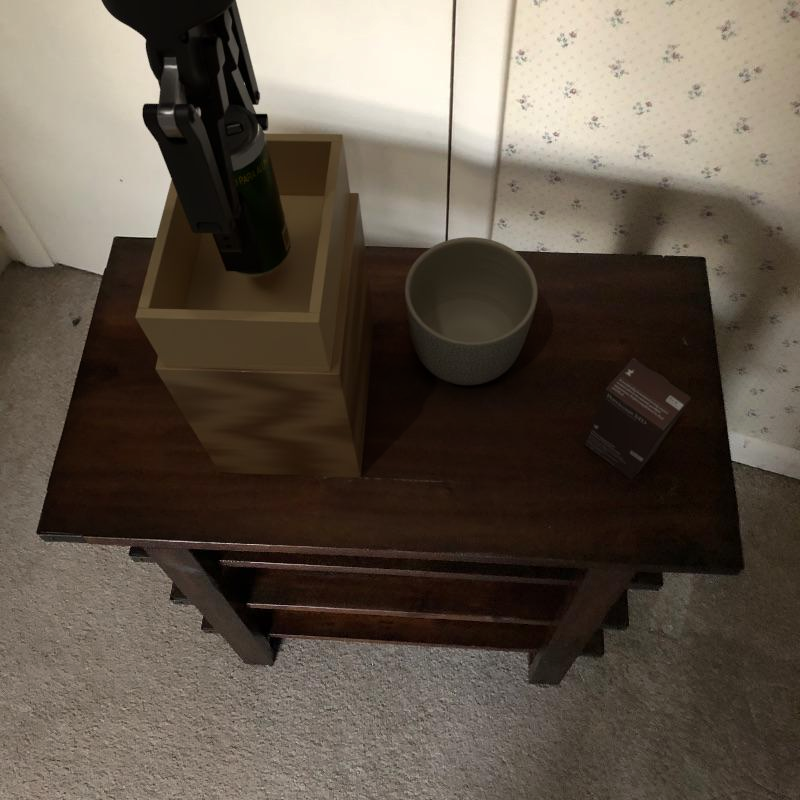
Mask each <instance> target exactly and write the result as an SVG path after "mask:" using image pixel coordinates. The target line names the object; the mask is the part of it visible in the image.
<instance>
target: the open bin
mask: <svg viewBox="0 0 800 800" xmlns="http://www.w3.org/2000/svg"><path fill="white" fill-rule="evenodd" d="M264 134H265V138H266V142H267V146H268V150H269V154H270V158H271V162H272V166H273V170H274V174H275V179H276V183H277V187H278V191H279V195H280V199H281V203H282V207H283V211H284V215H285V219H286V224H287V228H288V232H289V236H290V250H289V252H288V255H287V258H286V260H285V262H284V263H283V264H282V265H281V267H280V268H278V269H277V270H276V271H274V272H273V273H271V274H268V275H265V276H261V277H248V276H243V275H241V274H239V273H237V272H235V271H226V269H225V266H224V264H223V261H222V258H221V256H220V253H219V250H218V248H217V245H216V242H215V240H214V237H213V235H212V233H193V232H192V230H191V228H190V225H189V223H188V220H187V218H186V215H185V212H184V210H183V207H182V205H181V202H180V199H179V197H178V194H177V192H176V189H175V187H174V184H173V181H172V179H170V183H169V187H168V188H169V189H168V191H167V195H166V199H165V202H164V207H163V210H162V214H161V218H160V221H159V226H158V229H157V233H156V237H155V241H154V244H153V248H152V252H151V256H150V260H149V264H148V267H147V272H146V275H145V278H144V283H143V286H142V290H141V294H140V297H139V302H138V305H137V310H136V313H135V320H136V321H137V323H138V324H139V326H140V328H141V330H142V331H143V333H144V335H145V336H146V338H147V340H148V341H149V343H150V345H151V347H152V348H153V350H154V351H155V353H156V354H157V357H158V356H159V358H160V360H161V361H162V362H163V365H164V367H187V368H220V369H253V370H287V371H320V372H330V369H331V361H332V352H333V343H334V334H335V325H336V317H337V308H338V299H339V290H340V281H341V272H342V264H343V255H344V246H345V237H346V228H347V220H348V211H349V202H350V193H351V189H350V188H351V187H350V181H349V174H348V173H349V172H348V167H347V159H346V149H345V143H344V135H343V133H341V134H339V133H336V134H335V133H333V134H331V133H266V132H264Z"/></svg>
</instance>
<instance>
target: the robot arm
mask: <svg viewBox="0 0 800 800" xmlns="http://www.w3.org/2000/svg"><path fill="white" fill-rule="evenodd" d="M100 1H101V3H102V4H103V6H104V8H105V9H106V11H107V12H108V13H109V14H110V15H111V16H112V17H113V18H114V19H116V20H117V21H118V22H120V23H121V24H124V25H125V26H127V27H129V28H130V29H132V30H134V31H135V32H136V33H138V34H139V35H140V36H142V38H144V39H145V52H146V57H147V60H148V64H149V68H150V70H151V72H152V74H153V76H154V78H155V79H156V80H157V82H158V86H159V87H158V88H159V95H158V96H159V98H158V103H144V104H143V106H142V112H141V113H142V114H141V115H142V120H143V123H144V126H145V127H146V129H147V130H148V131H149V133H150V135H151V136H152V137H153V138H154V140H155V141H156V143H157V145H158V148H159V150H160V153H161V155H162V159H163V161H164V163H165V166H166V169H167V171H168V174H169V177H170V180H172V181H173V184H174V187H175V189H176V192H177V194H178V197H179V199H180V202H181V205H182V207H183V210H184V212H185V215H186V218H187V220H188V223H189V225H190V228H191V230H192V232H193V233H212V235H213V237H214V240H215V242H216V245H217V248H218V250H219V253H220V256H221V258H222V261H223V264H224V266H225V269H226V271H241V272H263V269H264V261H263V257H262V254H261V251H260V248H259V244H258V241H257V238H256V234H255V231H254V228H253V224H252V221H251V218H250V215H249V211H248V208H247V205H246V201H239V197H238V192H237V187H236V182H235V177H234V171H233V166H232V161H231V156H230V151H229V146H228V140H227V135H226V130H225V125H224V120H223V116H224V114H225V112H226V110H227V108H228V106H229V104H235V105H239V106H242V107H244V108H247V109H248V110H249V111H250V112H252V113H253V114H254V115H255V117H256V119H257V121H258V124H259V125H260V126H261V128H262V130H263V132H265V131H266V132H267V131H268V130H269V116H268V113H257V112H256V109H255V107H254V106H258V105H259V103H260V101H261V92H260V91H259V86H258V81H257V79H256V74H255V69H254V67H253V63H252V58H251V55H250V50H249V46H248V43H247V38H246V35H245V31H244V26H243V23H242V22H243V21H242V18H241V15H240V10H239V7H238V3H237V0H100Z"/></svg>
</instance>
